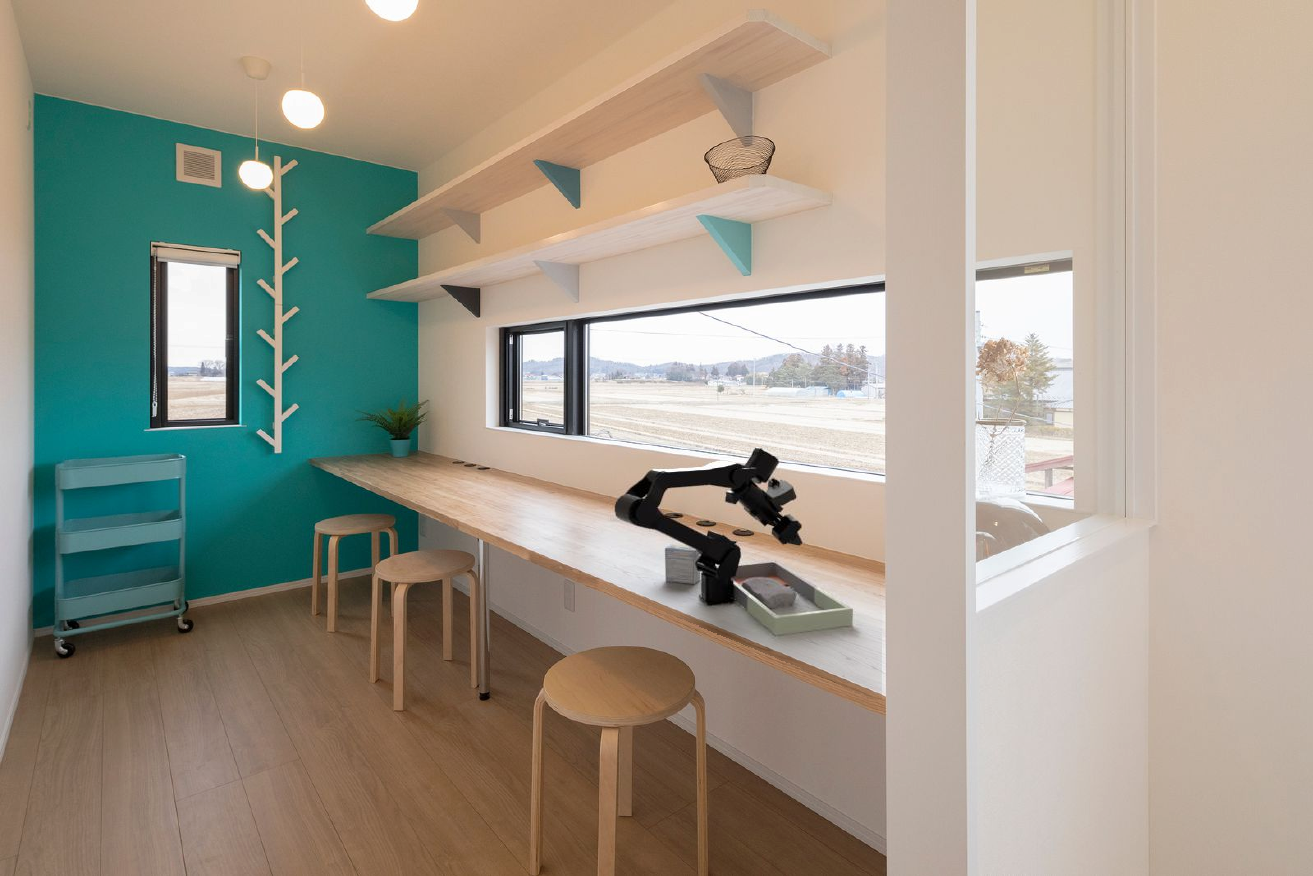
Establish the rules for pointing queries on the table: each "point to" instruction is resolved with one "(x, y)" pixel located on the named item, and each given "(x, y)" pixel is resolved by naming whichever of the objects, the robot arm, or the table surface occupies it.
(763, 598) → the stone block
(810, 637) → the table surface
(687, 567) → the medicine box
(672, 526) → the robot arm
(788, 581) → the open tray box
